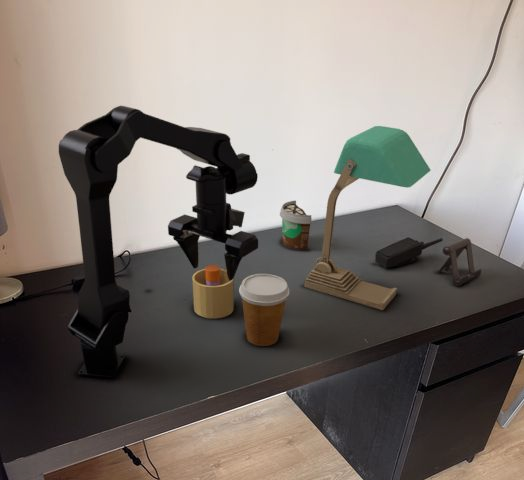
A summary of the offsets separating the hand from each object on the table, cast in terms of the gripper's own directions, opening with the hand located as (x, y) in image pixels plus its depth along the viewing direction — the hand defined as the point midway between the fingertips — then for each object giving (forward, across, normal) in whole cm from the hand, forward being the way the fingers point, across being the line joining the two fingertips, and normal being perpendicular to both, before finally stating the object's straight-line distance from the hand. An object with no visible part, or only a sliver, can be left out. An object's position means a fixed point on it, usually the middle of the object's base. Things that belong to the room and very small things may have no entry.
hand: (213, 273), depth 110 cm
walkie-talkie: (+8, -26, -50) cm, 56 cm away
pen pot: (+8, 0, 0) cm, 8 cm away
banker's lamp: (+8, -21, -25) cm, 34 cm away
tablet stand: (+8, -39, -47) cm, 62 cm away
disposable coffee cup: (+8, -15, +4) cm, 17 cm away
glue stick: (+8, 0, 0) cm, 8 cm away
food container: (+8, +4, -39) cm, 40 cm away
